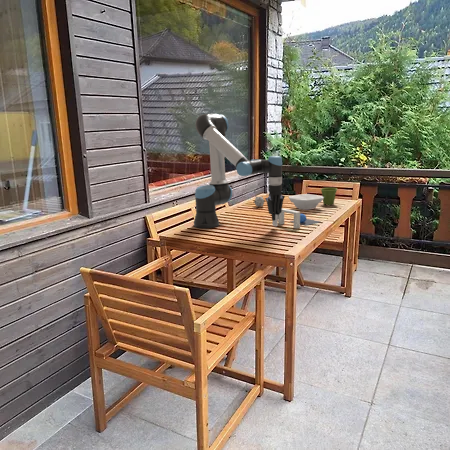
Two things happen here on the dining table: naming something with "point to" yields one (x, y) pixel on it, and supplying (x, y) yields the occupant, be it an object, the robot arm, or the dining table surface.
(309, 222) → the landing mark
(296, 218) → the bridge
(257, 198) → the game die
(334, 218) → the dining table surface
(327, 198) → the plant pot
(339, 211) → the dining table surface
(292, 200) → the bowl
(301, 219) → the ball
